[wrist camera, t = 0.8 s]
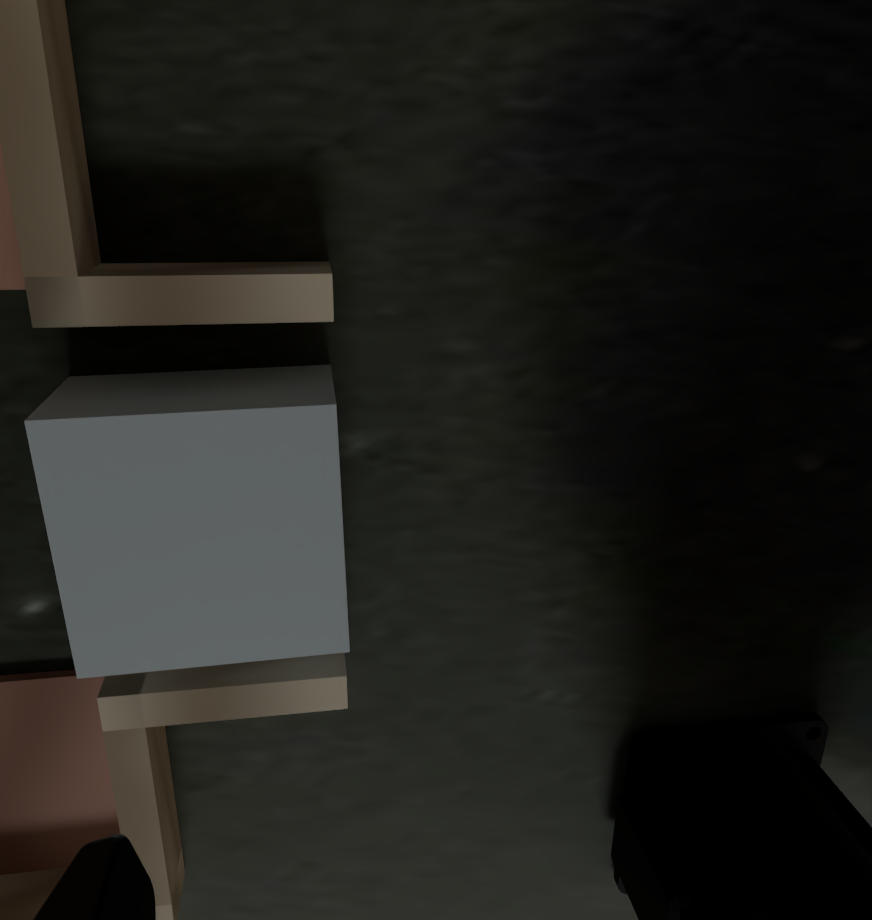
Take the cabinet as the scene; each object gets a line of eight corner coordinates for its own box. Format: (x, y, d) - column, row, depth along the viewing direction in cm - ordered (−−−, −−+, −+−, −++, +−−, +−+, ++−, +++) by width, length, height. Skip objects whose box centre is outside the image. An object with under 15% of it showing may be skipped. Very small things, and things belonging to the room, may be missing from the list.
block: (330, 362, 19) (336, 404, 16) (342, 577, 22) (349, 651, 18) (71, 373, 19) (24, 421, 15) (111, 597, 21) (76, 678, 18)
